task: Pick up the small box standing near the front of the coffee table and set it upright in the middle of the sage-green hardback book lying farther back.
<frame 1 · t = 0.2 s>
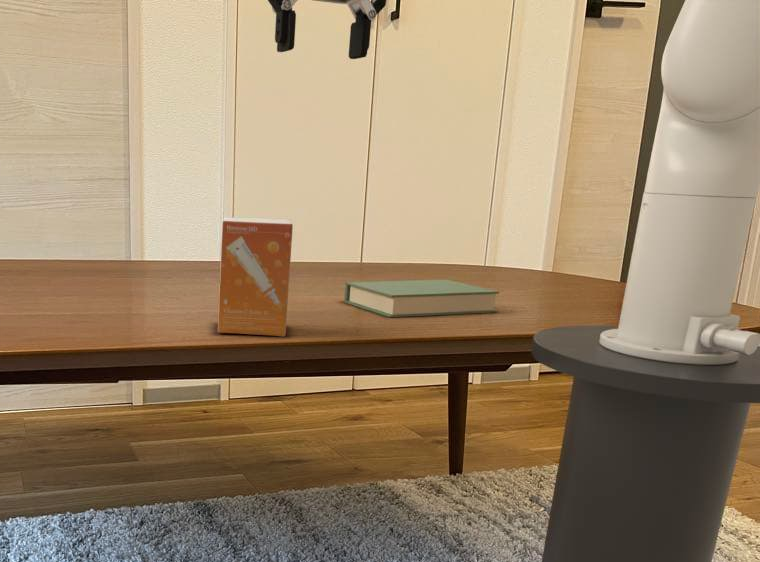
hand: (322, 54, 91), 32 cm above the table, tool pointing down, fingers open, 9 cm apart
book: (418, 307, 113), on the table
small box: (251, 331, 93), on the table
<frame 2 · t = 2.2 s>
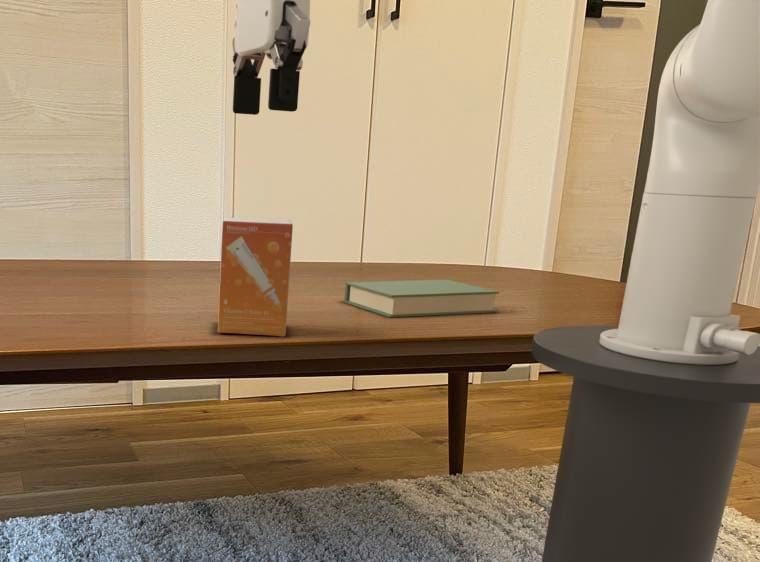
hand: (263, 112, 87), 25 cm above the table, tool pointing down, fingers open, 9 cm apart
nothing on the table moved.
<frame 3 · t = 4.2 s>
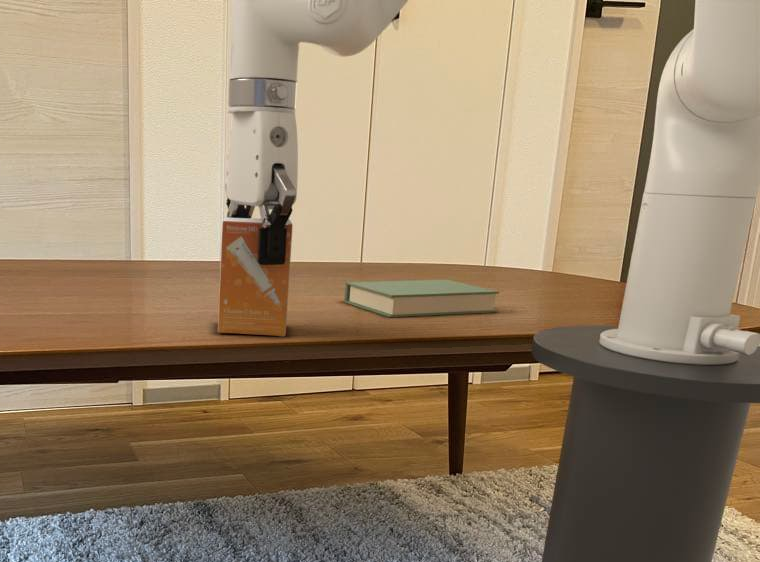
hand: (254, 258, 91), 9 cm above the table, tool pointing down, fingers closed on small box, 8 cm apart
small box: (251, 331, 93), on the table, touching gripper
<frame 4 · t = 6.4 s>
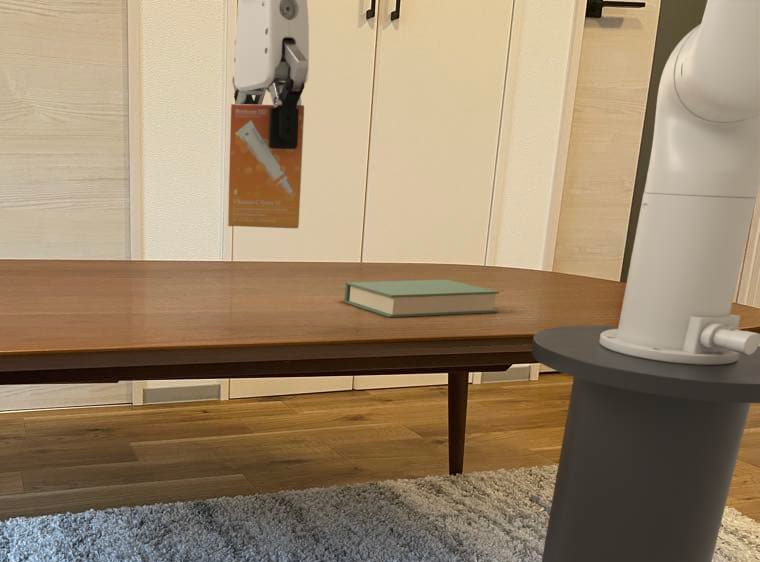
hand: (265, 148, 87), 21 cm above the table, tool pointing down, fingers closed on small box, 8 cm apart
small box: (262, 228, 90), point 12 cm above the table, touching gripper
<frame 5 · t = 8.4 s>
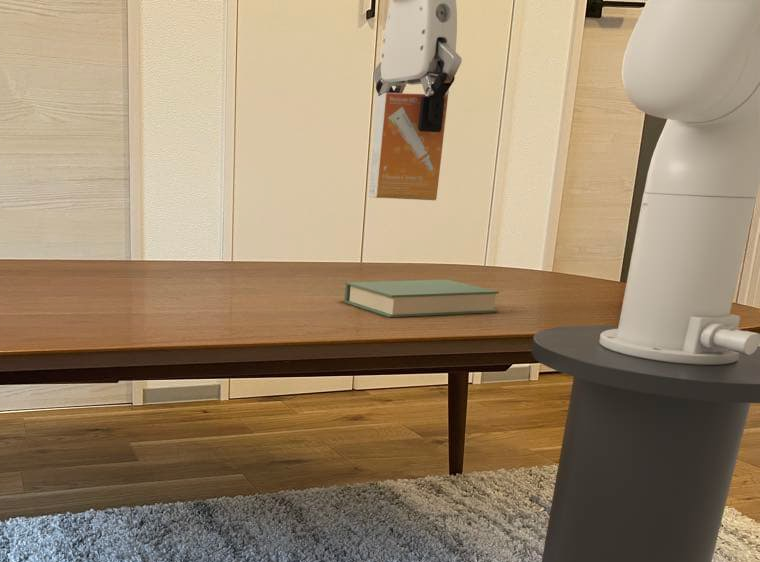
hand: (408, 131, 102), 24 cm above the table, tool pointing down, fingers closed on small box, 8 cm apart
small box: (401, 200, 104), point 15 cm above the table, touching gripper
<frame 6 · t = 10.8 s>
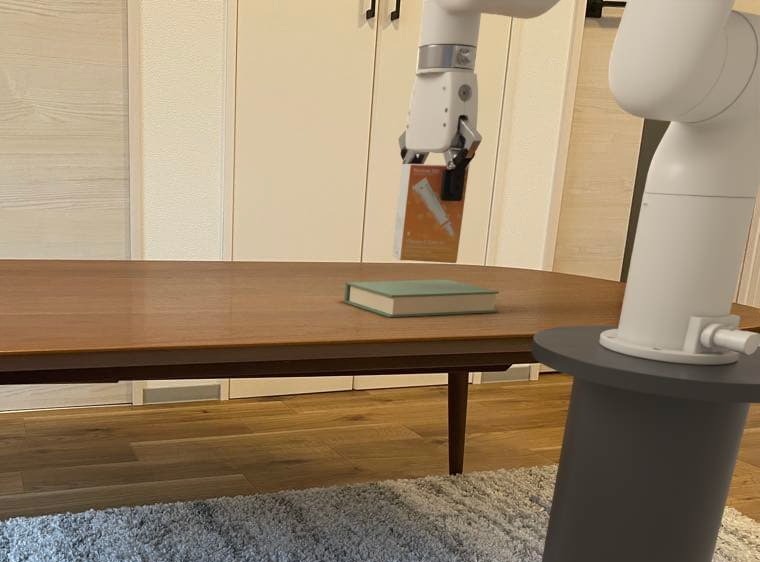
hand: (430, 198, 109), 15 cm above the table, tool pointing down, fingers closed on small box, 8 cm apart
small box: (423, 261, 111), point 7 cm above the table, touching gripper
when the fingers open (12 cm above the table, at t = 12.5 s): small box stays where it is, resting on book.
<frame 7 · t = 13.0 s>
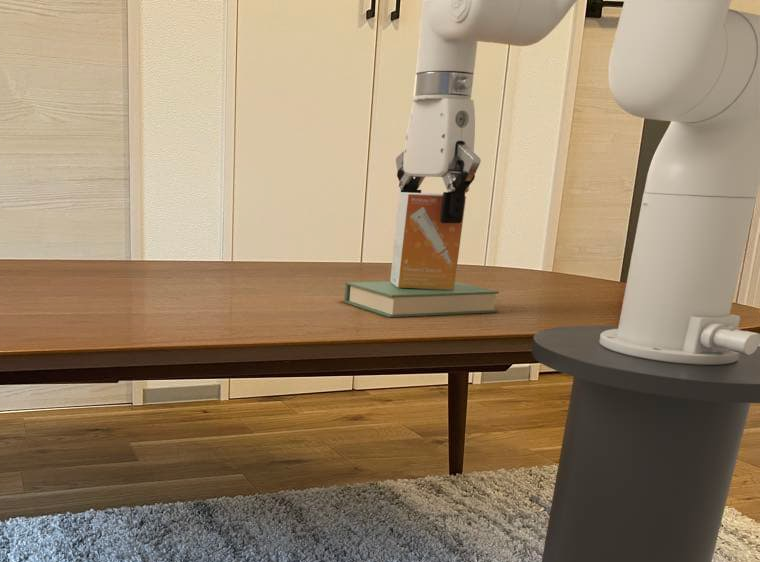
hand: (428, 220, 109), 12 cm above the table, tool pointing down, fingers open, 9 cm apart
small box: (421, 288, 112), point 3 cm above the table, touching book
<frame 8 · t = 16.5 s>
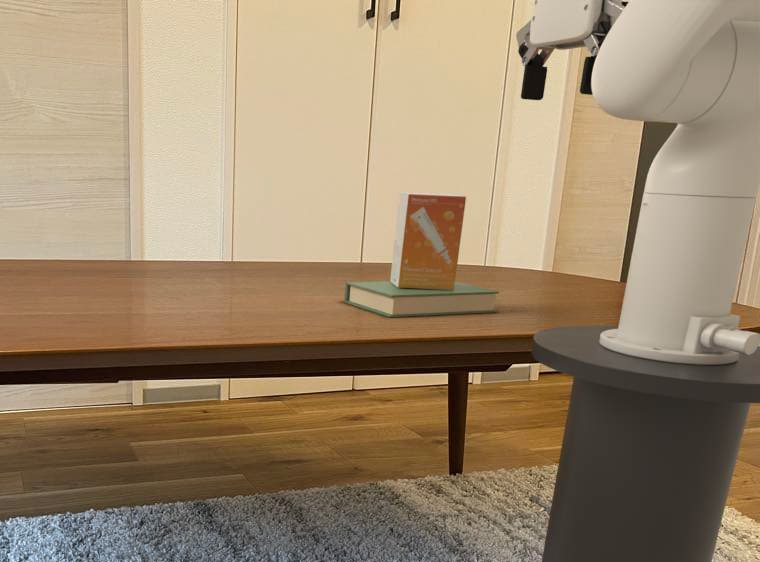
hand: (560, 97, 96), 28 cm above the table, tool pointing down, fingers open, 9 cm apart
nothing on the table moved.
at the end: small box inside the target area on the book (0.1 cm from its centre), point 2.8 cm above the book's base; small box tilted 0°; the gripper is holding nothing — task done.
